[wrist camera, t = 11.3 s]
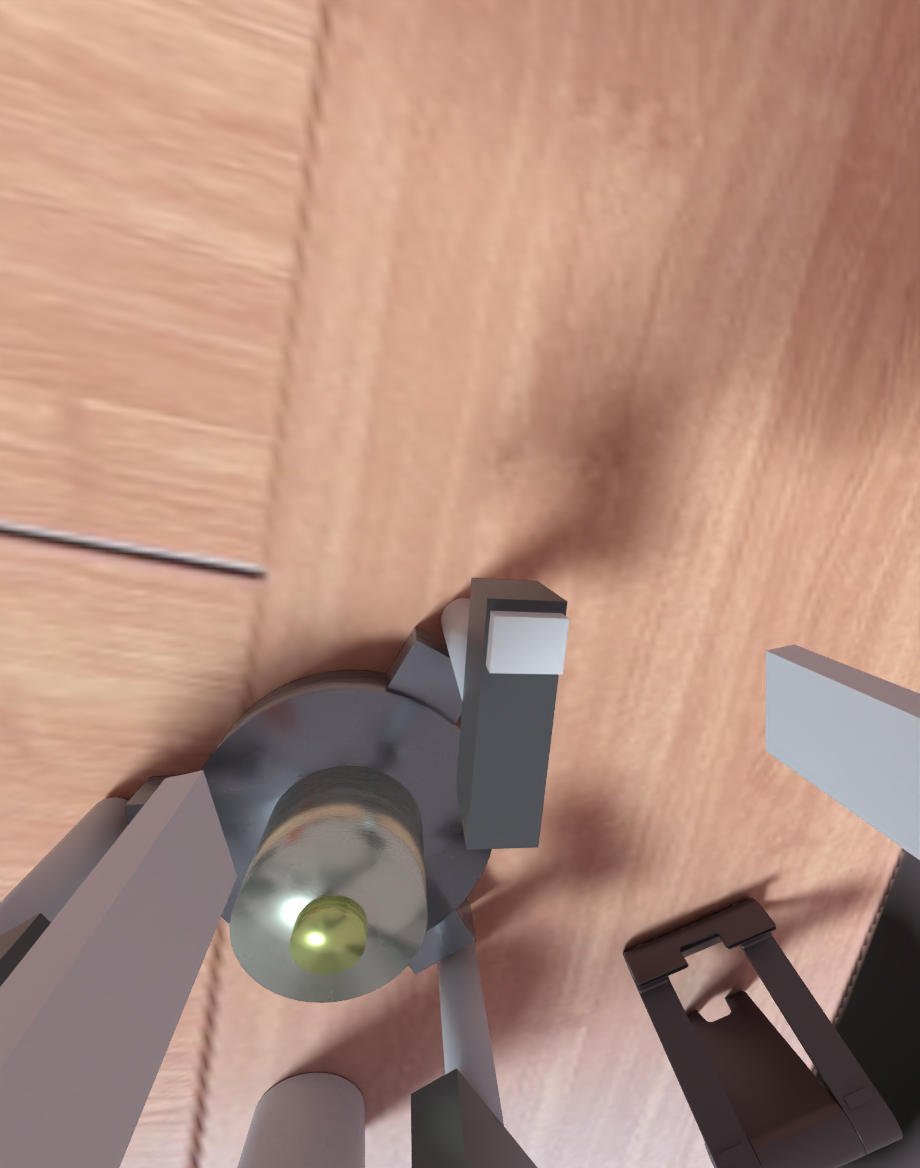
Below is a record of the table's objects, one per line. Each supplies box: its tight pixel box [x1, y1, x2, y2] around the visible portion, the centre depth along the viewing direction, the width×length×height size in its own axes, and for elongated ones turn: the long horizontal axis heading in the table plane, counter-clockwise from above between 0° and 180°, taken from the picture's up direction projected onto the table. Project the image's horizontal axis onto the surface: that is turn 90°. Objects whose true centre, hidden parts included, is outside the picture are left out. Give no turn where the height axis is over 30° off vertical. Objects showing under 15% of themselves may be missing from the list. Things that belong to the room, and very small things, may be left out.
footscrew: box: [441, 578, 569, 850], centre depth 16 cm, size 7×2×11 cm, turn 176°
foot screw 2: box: [411, 941, 537, 1168], centre depth 20 cm, size 7×2×11 cm, turn 29°
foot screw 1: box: [0, 798, 128, 987], centre depth 16 cm, size 7×2×11 cm, turn 119°
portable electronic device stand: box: [623, 898, 903, 1168], centre depth 25 cm, size 9×8×8 cm
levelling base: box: [125, 627, 492, 1003], centre depth 19 cm, size 18×16×8 cm
